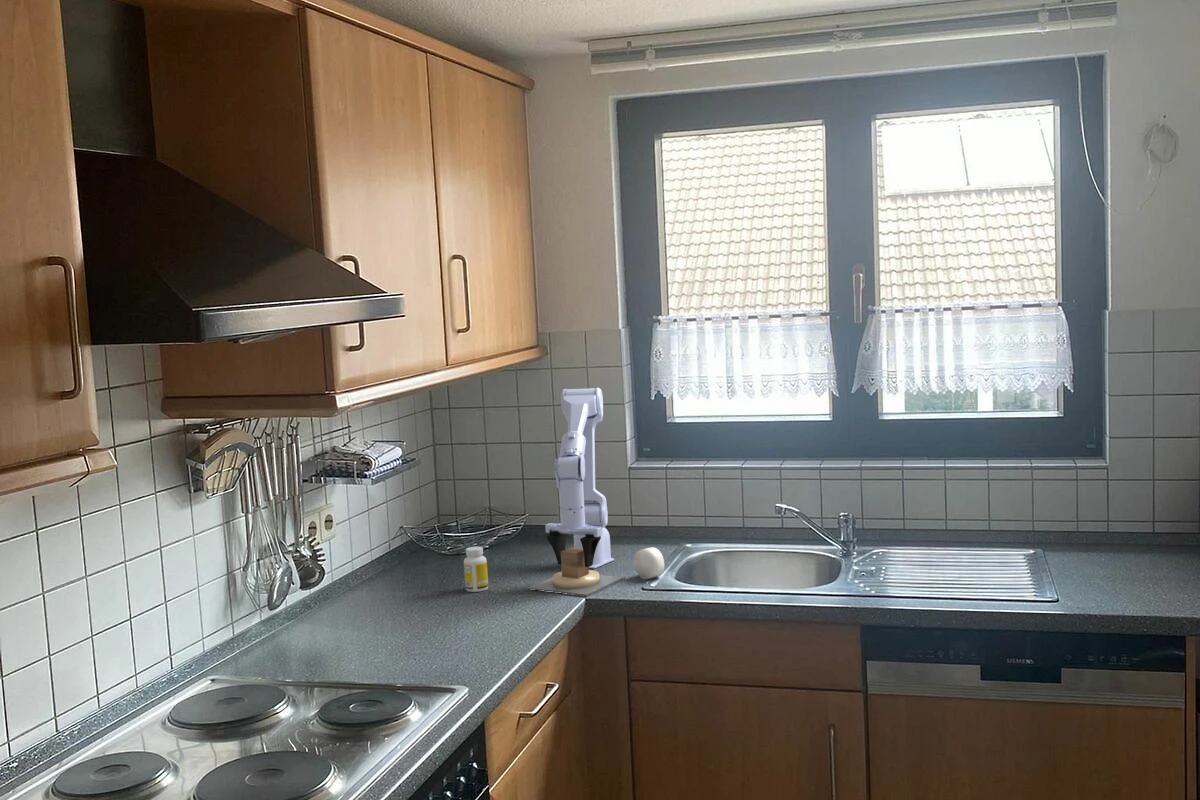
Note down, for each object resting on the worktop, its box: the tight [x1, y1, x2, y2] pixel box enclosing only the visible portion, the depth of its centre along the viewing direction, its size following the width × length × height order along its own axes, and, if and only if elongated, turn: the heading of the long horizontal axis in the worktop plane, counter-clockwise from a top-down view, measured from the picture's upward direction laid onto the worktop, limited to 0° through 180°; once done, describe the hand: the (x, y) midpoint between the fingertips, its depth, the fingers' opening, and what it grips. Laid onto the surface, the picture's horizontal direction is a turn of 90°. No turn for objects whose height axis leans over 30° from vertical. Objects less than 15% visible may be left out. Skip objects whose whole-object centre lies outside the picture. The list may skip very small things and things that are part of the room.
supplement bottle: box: [463, 546, 489, 593], centre depth 275 cm, size 5×5×10 cm
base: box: [527, 569, 624, 597], centre depth 275 cm, size 16×16×2 cm
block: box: [560, 547, 590, 579], centre depth 274 cm, size 4×4×6 cm
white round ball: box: [633, 546, 665, 580], centre depth 278 cm, size 7×7×4 cm
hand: (575, 564), depth 274 cm, fingers open, 7 cm apart
